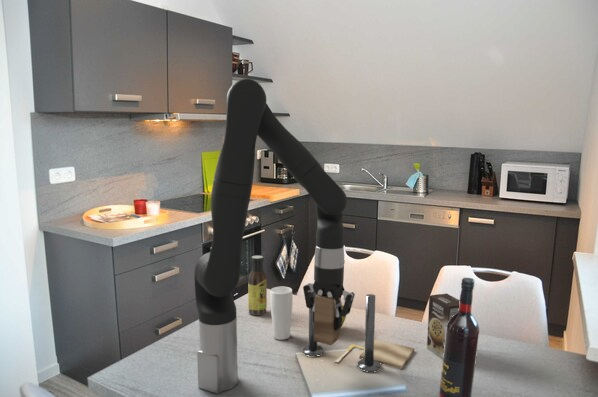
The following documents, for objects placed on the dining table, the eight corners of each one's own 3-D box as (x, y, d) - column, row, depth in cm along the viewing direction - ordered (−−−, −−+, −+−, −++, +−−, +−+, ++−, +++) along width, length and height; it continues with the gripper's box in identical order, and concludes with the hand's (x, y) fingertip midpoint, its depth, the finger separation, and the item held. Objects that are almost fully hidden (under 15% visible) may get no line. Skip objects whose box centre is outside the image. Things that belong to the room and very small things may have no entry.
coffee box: (425, 348, 139) (428, 295, 137) (444, 344, 141) (446, 292, 139) (445, 362, 131) (448, 306, 128) (464, 358, 133) (468, 303, 131)
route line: (351, 367, 128) (351, 366, 128) (334, 362, 131) (334, 361, 131) (367, 349, 139) (367, 348, 138) (351, 345, 141) (352, 344, 141)
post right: (375, 374, 124) (377, 301, 121) (354, 368, 127) (355, 297, 124) (383, 364, 130) (385, 294, 126) (362, 359, 132) (364, 290, 129)
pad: (401, 369, 127) (401, 366, 127) (359, 358, 133) (359, 355, 133) (414, 350, 137) (414, 348, 137) (374, 341, 143) (374, 339, 143)
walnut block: (331, 345, 120) (332, 300, 119) (313, 340, 123) (314, 296, 121) (339, 338, 125) (341, 294, 123) (322, 333, 127) (323, 290, 125)
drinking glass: (293, 332, 149) (293, 286, 147) (291, 342, 143) (291, 294, 140) (272, 331, 150) (271, 285, 148) (268, 341, 143) (268, 293, 141)
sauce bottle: (262, 317, 161) (262, 260, 158) (245, 315, 163) (244, 258, 160) (269, 310, 167) (268, 255, 164) (252, 308, 169) (251, 253, 166)
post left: (317, 359, 133) (318, 290, 129) (298, 353, 136) (298, 286, 132) (327, 350, 138) (327, 283, 135) (308, 345, 141) (309, 280, 138)
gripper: (297, 262, 121) (295, 326, 124) (349, 271, 114) (346, 339, 116) (311, 255, 128) (309, 316, 130) (361, 264, 120) (358, 328, 123)
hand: (327, 326), depth 123 cm, fingers closed on walnut block, 5 cm apart
